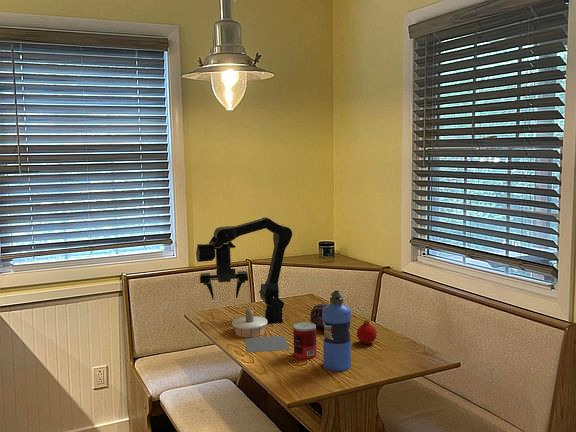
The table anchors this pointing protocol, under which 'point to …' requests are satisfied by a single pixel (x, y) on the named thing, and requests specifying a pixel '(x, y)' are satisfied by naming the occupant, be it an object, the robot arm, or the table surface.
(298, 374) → the table surface
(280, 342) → the mat
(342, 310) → the water bottle
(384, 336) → the table surface
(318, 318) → the pine cone
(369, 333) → the christmas ornament
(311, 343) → the canned food
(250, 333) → the bowl
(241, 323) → the lid
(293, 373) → the table surface
